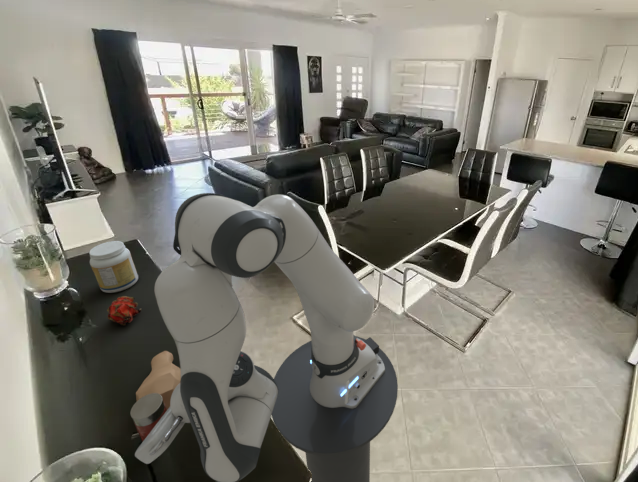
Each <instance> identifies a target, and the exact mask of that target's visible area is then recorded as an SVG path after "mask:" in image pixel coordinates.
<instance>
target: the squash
mask: <svg viewBox="0 0 638 482" xmlns="http://www.w3.org/2000/svg"><path fill="white" fill-rule="evenodd" d="M173 361H174V355H173V353H172V352H170V351H168V350H163V351H161V352H159V353H158V354H156V355H155V356H153V357H152V359H151V361H150V367H151V371H150V373H149V375H148V376H146V378H145V379H144V380H143V381H142V383H141V384H140V386H139V388H138V389H137V390H136V392H135V398H136V402H137V401H138V400H139V399H140V398H142V397H144V396H146V395H148V394H151V393H158V394H160V395H161V396H162V398H163V401H164V403H165V406H166V408H167V410H168V408H169V407H170V400H171V396H172V393H173V391H174V389H175V388H176V386H177V385H178V384H179V383H180V380H181V370H180V366H177V365H176V364H174V363H173Z"/></svg>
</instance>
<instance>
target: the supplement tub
mask: <svg viewBox="0 0 638 482" xmlns="http://www.w3.org/2000/svg"><path fill="white" fill-rule="evenodd" d="M89 265H90V268H91V270H92V272H93V275H94V277H95V279H96V281H97V282H96V283H97V284H98V287H99V289H100V290H101V291H102V292H103V293H107V294H113V293H114V294H115V293H119V292H122V291H125V290H128V289H130V288H131V287H133V286H134V285H135V284H136V283H137V282H138V280H139V274H138V271H137V269H136V265H135V263H134V260H133V257H132V254H131V251H130V250H129V248H127V247H126V245H125V244H124V242H123V241H120V240H111V241H106V242H103V243H99V244H98V245H95V246H94V247H92V248H91V249H90V250H89Z"/></svg>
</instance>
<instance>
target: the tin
mask: <svg viewBox="0 0 638 482" xmlns="http://www.w3.org/2000/svg"><path fill="white" fill-rule="evenodd" d="M166 411H167V408H166V406H165V403H164V401H163V398H162V396H161V395H160V394H158V393H151V394H148V395H146V396H144V397H142V398H140V399H139V400H138V401H137V400H136V402H134V404H133V405H132V407H131V409H130V417H131V419H132V422H133V424H134V426H135V429H136V431H137V433H138V435H139V436H138V437H139V438H140V440H141V442H143V441H144V440H145V438H146V437H147V436H148V434H149V433H150V432H151V431H152V429H153V428H154V427H155V425H156V424H157V423H158V421H159V420H160V419H161V417H162V416H163V415H164V414H165V412H166Z"/></svg>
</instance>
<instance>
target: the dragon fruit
mask: <svg viewBox="0 0 638 482" xmlns="http://www.w3.org/2000/svg"><path fill="white" fill-rule="evenodd" d="M138 305H139V302H136V301H135V297H134V296H127V295H122V296H118V297H117V299H114V300H112V302H111V305H109V307H108V308H107V309H106V311H107V319H108V320H111V322H113V323H117V324H119V325H121V326H126V325H127V324H126V323H128V324H129V323H131V322H133V321H134V317H135V316H136V315H139V314H141V312H142V308H139V309H138Z"/></svg>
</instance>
